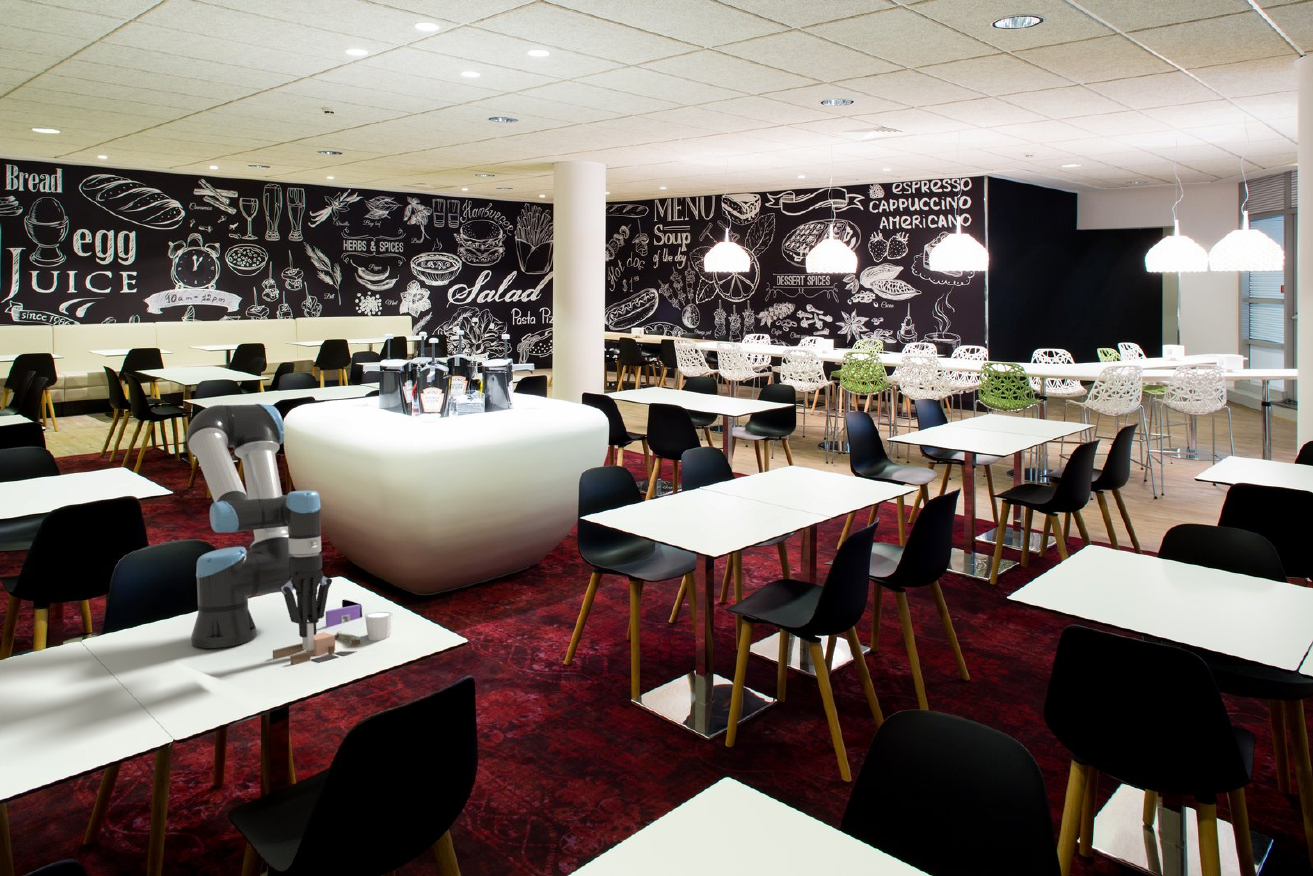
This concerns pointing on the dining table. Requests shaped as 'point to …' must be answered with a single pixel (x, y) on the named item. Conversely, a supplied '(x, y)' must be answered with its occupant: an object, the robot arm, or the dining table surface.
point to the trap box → (306, 655)
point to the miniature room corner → (343, 613)
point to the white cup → (379, 625)
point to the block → (322, 643)
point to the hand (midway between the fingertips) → (308, 649)
